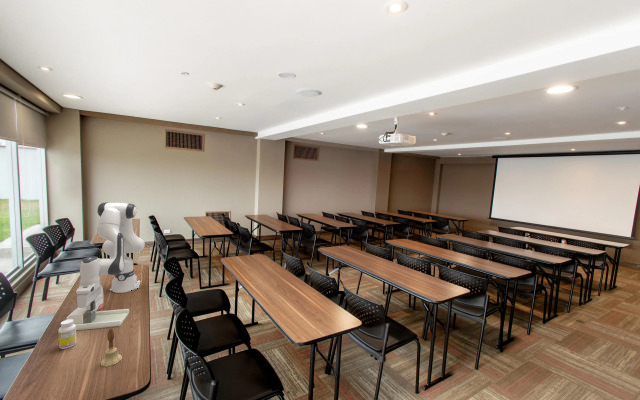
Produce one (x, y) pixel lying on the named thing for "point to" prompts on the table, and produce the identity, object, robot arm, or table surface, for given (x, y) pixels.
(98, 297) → the ink cartridge box
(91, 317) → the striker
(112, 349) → the hand bell
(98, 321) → the tray
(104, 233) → the robot arm
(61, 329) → the supplement bottle
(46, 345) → the table surface
